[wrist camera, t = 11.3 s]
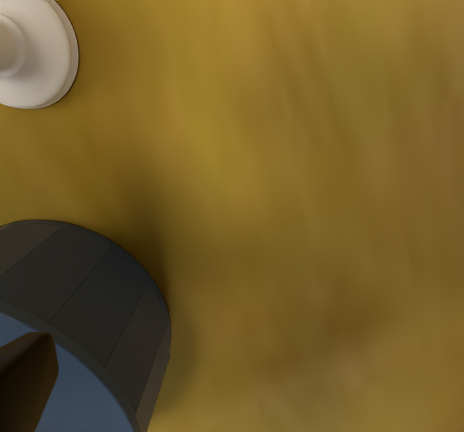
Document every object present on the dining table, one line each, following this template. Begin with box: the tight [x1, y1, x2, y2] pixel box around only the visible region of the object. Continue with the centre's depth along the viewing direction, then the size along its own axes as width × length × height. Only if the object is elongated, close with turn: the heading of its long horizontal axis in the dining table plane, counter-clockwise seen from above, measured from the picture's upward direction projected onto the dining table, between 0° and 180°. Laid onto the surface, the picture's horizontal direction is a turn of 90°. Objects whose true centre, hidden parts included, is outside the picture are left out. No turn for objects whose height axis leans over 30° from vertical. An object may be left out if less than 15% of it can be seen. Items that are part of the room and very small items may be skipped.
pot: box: [0, 220, 171, 432], centre depth 18 cm, size 12×12×7 cm
